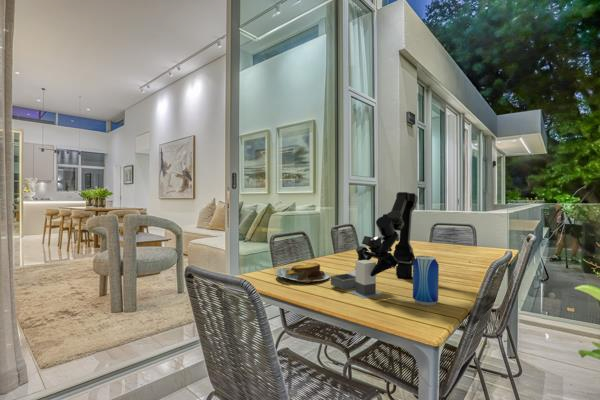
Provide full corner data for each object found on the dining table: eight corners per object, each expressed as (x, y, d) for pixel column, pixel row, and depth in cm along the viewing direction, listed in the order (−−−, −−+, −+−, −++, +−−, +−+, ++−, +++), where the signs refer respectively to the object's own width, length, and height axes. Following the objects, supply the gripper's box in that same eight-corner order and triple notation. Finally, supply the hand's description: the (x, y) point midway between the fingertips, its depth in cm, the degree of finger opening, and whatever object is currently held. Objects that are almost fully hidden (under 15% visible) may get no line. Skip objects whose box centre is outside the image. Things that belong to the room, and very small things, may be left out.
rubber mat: (367, 288, 128) (367, 287, 128) (384, 295, 119) (384, 294, 119) (347, 292, 123) (347, 290, 123) (363, 299, 114) (363, 298, 114)
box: (366, 289, 125) (366, 259, 124) (375, 293, 120) (375, 262, 120) (355, 291, 122) (355, 260, 122) (364, 295, 117) (364, 263, 117)
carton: (352, 281, 138) (352, 269, 137) (364, 286, 130) (364, 273, 130) (325, 286, 131) (325, 273, 131) (336, 291, 124) (336, 277, 124)
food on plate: (286, 270, 160) (286, 257, 160) (334, 274, 153) (334, 260, 152) (265, 283, 136) (265, 267, 136) (321, 288, 128) (321, 272, 128)
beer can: (436, 308, 106) (436, 260, 106) (410, 303, 110) (410, 258, 110) (439, 301, 113) (440, 256, 113) (415, 297, 118) (415, 254, 117)
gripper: (359, 226, 131) (337, 255, 126) (391, 231, 114) (367, 264, 109) (374, 244, 135) (353, 272, 130) (407, 251, 118) (384, 284, 113)
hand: (363, 273), depth 120 cm, fingers open, 9 cm apart
